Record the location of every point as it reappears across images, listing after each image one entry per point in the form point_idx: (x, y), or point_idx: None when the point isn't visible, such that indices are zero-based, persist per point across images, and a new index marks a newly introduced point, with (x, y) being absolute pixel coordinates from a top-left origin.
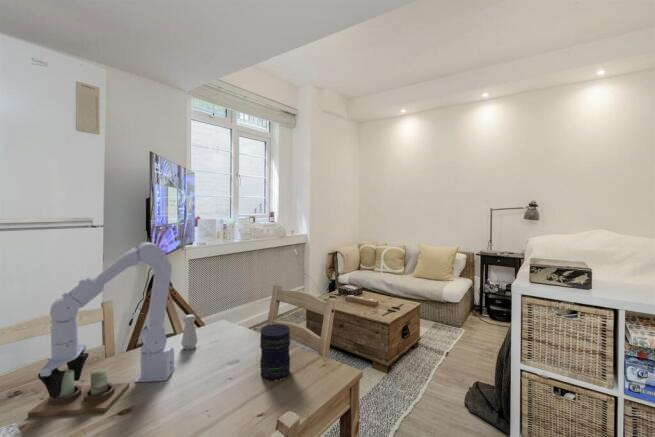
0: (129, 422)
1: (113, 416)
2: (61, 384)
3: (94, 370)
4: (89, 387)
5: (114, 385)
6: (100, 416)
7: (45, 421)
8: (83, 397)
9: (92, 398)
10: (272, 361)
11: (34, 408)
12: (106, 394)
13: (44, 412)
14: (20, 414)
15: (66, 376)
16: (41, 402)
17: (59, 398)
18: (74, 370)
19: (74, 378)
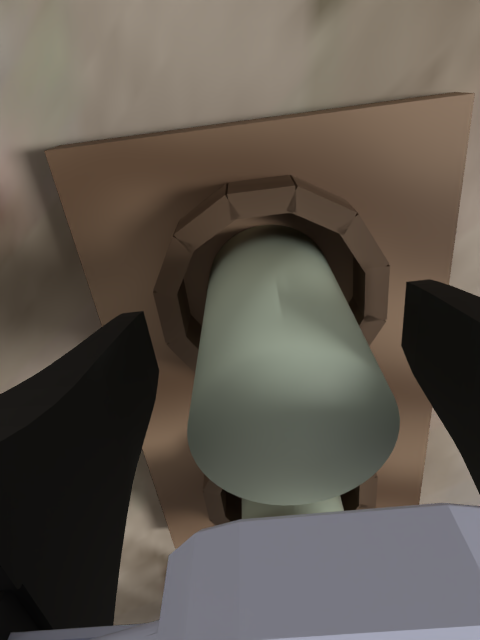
0: (127, 614)
1: (153, 561)
2: (134, 466)
3: None
4: (402, 355)
5: (399, 479)
6: (146, 524)
7: (55, 314)
8: None
9: (206, 506)
10: None
11: (103, 155)
12: None
13: (88, 274)
14: (77, 23)
15: (226, 485)
16: (193, 132)
17: (181, 329)
18: (463, 383)
19: (414, 330)
